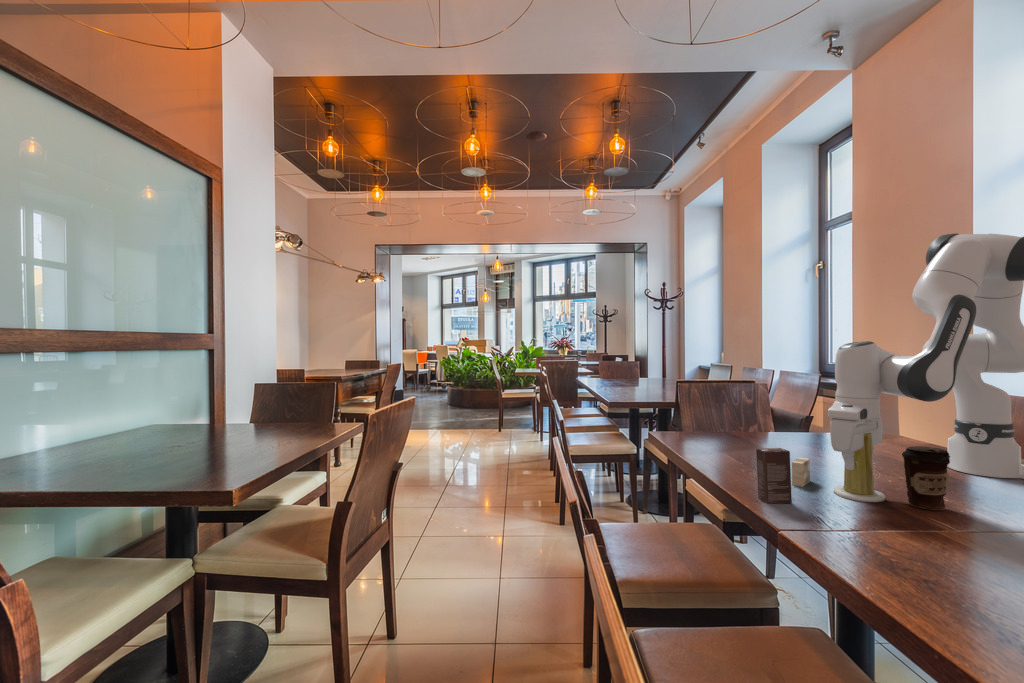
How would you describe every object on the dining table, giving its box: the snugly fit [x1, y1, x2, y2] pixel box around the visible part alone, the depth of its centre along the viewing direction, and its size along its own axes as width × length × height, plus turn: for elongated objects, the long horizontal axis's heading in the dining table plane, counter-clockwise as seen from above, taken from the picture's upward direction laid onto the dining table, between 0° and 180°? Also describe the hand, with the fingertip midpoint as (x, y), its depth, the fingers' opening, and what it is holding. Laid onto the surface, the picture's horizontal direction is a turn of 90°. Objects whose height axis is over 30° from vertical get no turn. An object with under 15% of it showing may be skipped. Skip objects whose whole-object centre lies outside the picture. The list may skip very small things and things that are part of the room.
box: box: [755, 447, 793, 504], centre depth 111 cm, size 6×4×12 cm
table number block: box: [791, 456, 811, 488], centre depth 124 cm, size 7×3×6 cm, turn 134°
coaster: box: [833, 485, 886, 503], centre depth 114 cm, size 10×10×1 cm
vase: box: [843, 433, 876, 495], centre depth 114 cm, size 6×6×14 cm
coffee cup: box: [901, 445, 950, 511], centre depth 106 cm, size 9×8×13 cm
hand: (858, 466), depth 114 cm, fingers open, 8 cm apart
